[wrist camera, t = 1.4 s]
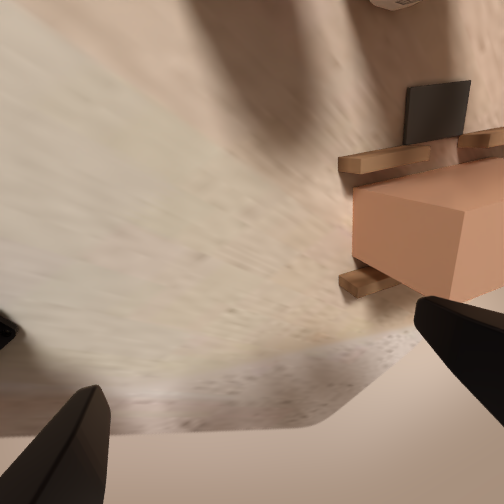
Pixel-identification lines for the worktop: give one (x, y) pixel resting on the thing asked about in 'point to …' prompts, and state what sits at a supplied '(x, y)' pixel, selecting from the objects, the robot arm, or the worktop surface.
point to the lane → (416, 154)
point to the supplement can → (394, 3)
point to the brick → (435, 229)
